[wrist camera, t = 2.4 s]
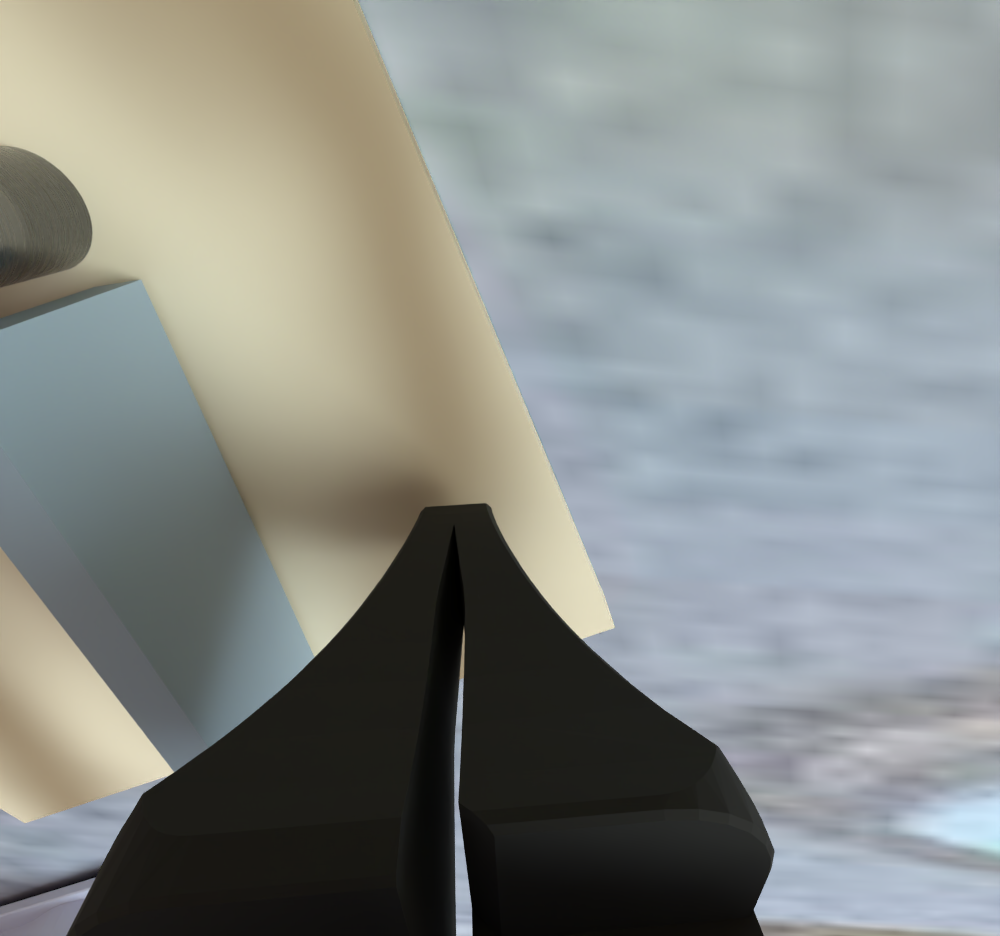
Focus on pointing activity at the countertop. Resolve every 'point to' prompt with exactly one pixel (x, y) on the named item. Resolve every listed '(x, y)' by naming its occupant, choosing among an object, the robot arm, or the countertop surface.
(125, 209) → the maple board
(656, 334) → the countertop surface
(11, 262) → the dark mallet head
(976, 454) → the countertop surface
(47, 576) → the slate bar
